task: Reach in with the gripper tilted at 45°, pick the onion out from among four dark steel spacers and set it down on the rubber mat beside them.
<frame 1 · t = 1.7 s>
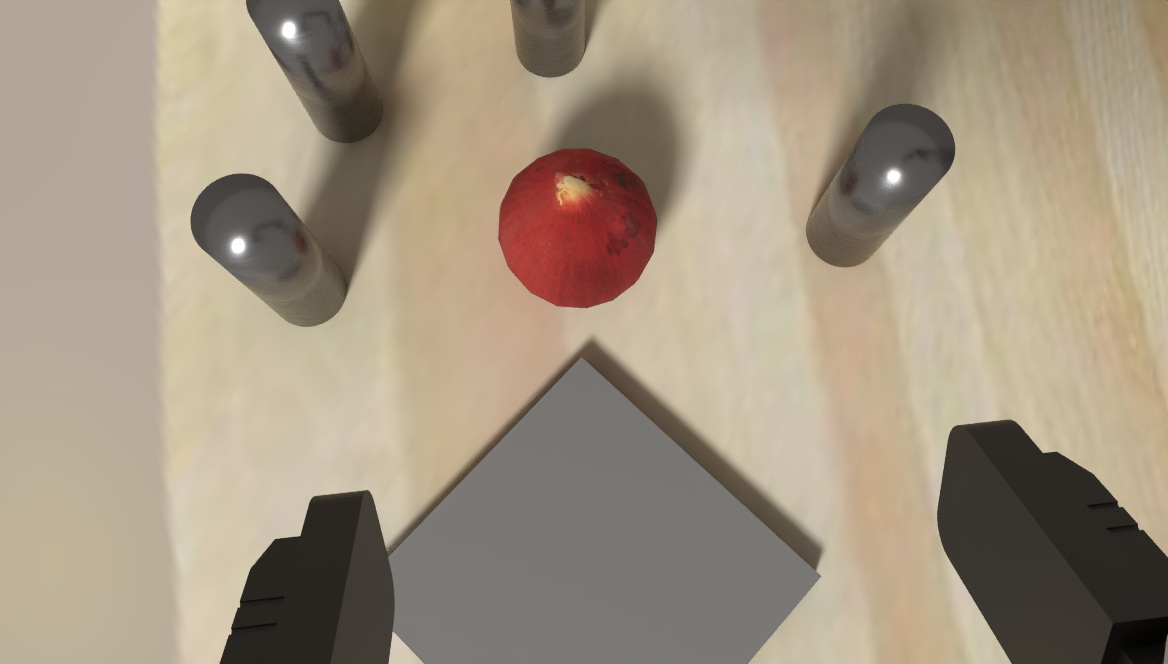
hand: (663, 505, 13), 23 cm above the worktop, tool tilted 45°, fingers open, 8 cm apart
mat: (588, 583, 34), on the worktop
onion: (578, 263, 38), on the worktop
spacer field: (578, 261, 37), on the worktop
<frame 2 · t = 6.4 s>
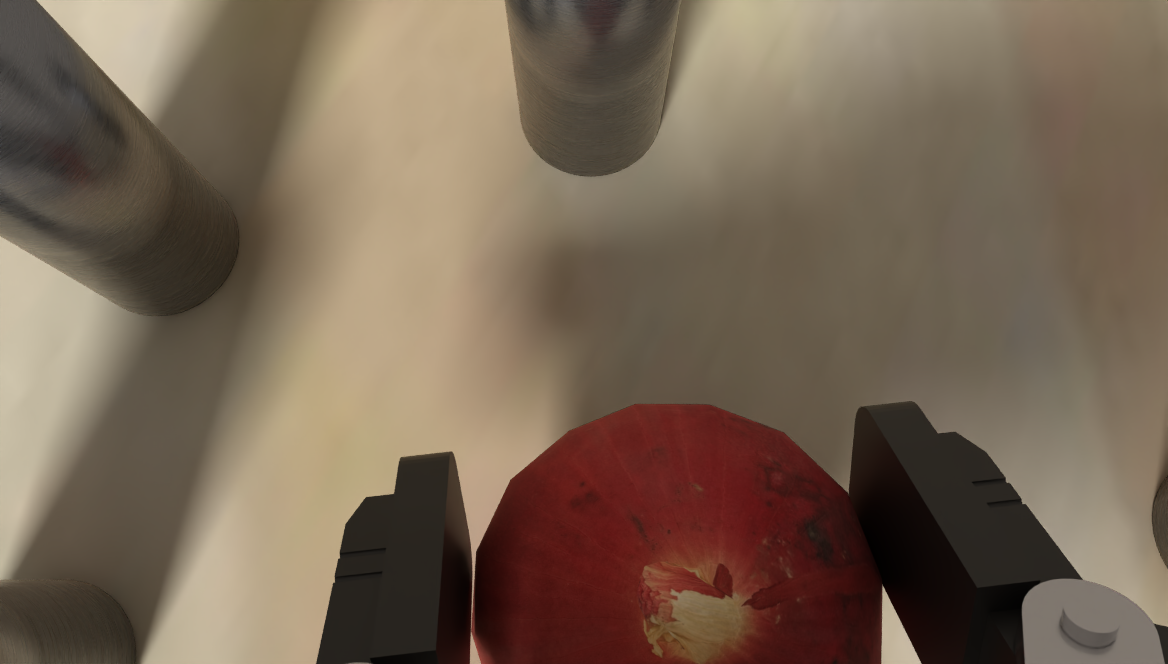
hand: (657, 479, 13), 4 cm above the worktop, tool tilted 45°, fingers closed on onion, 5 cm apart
onion: (653, 596, 17), on the worktop, touching gripper
spacer field: (654, 597, 17), on the worktop
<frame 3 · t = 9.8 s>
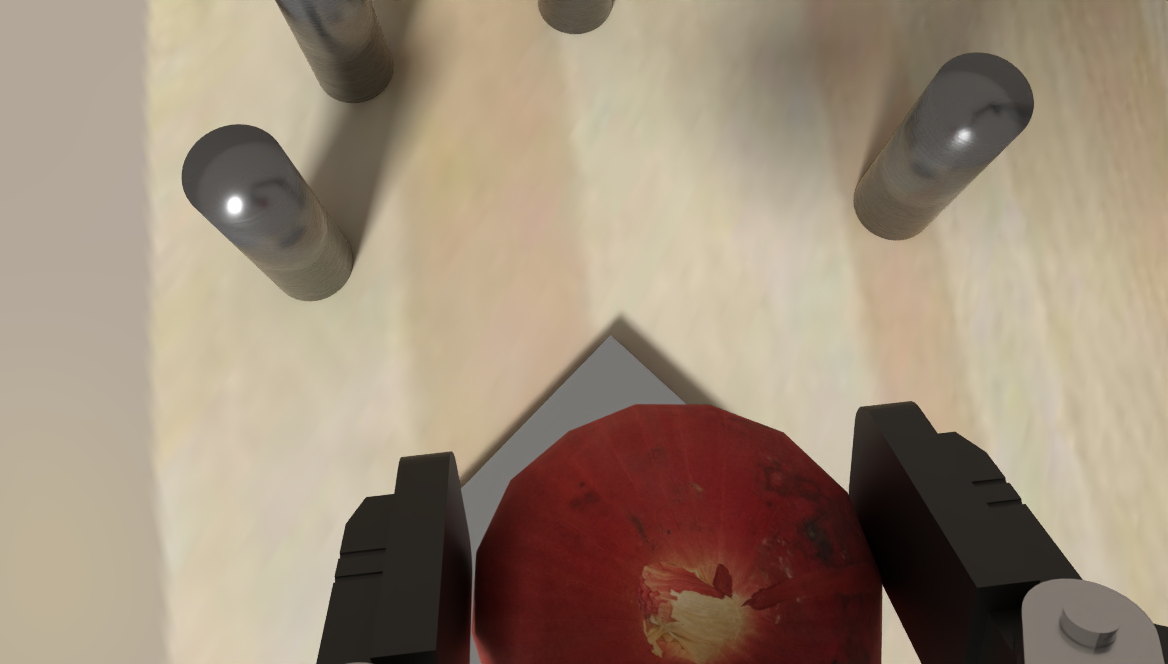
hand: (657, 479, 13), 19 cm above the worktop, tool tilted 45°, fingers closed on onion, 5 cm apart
mat: (617, 583, 31), on the worktop
onion: (653, 596, 17), point 15 cm above the worktop, touching gripper
spacer field: (605, 232, 34), on the worktop
when the fingers open (7 cm above the worktop, at t = 13.2 s): onion drops 1 cm, resting on mat.
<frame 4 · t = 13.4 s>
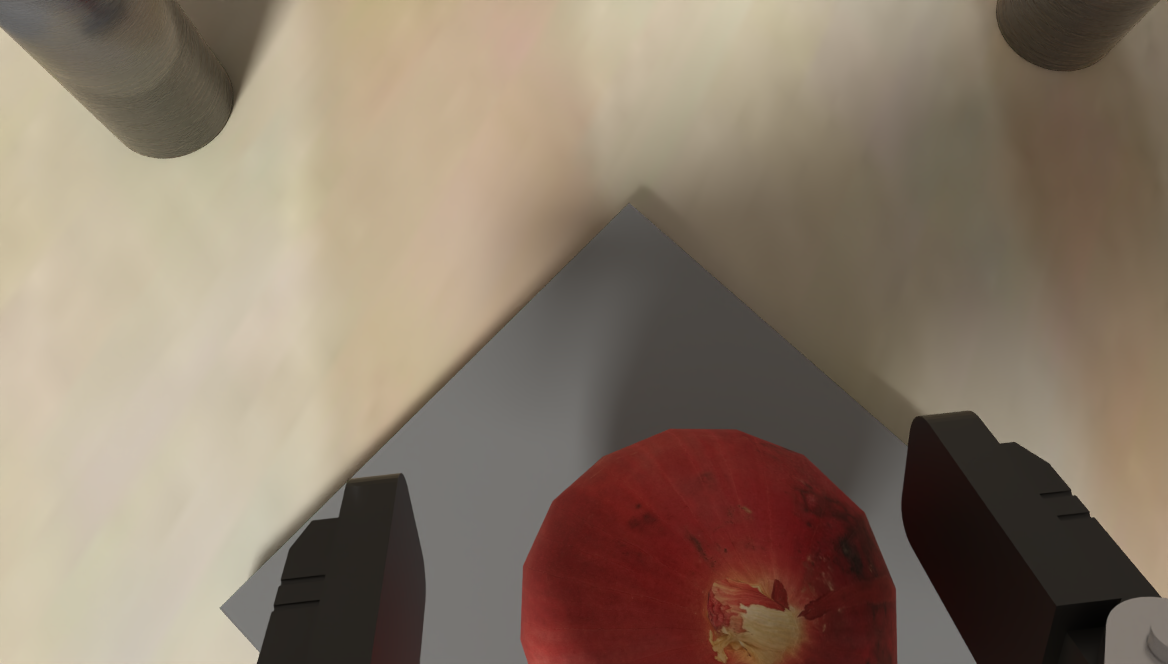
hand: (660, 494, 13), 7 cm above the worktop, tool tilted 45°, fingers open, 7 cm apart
mat: (642, 596, 19), on the worktop
onion: (664, 603, 18), point 1 cm above the worktop, touching mat
spacer field: (620, 59, 23), on the worktop
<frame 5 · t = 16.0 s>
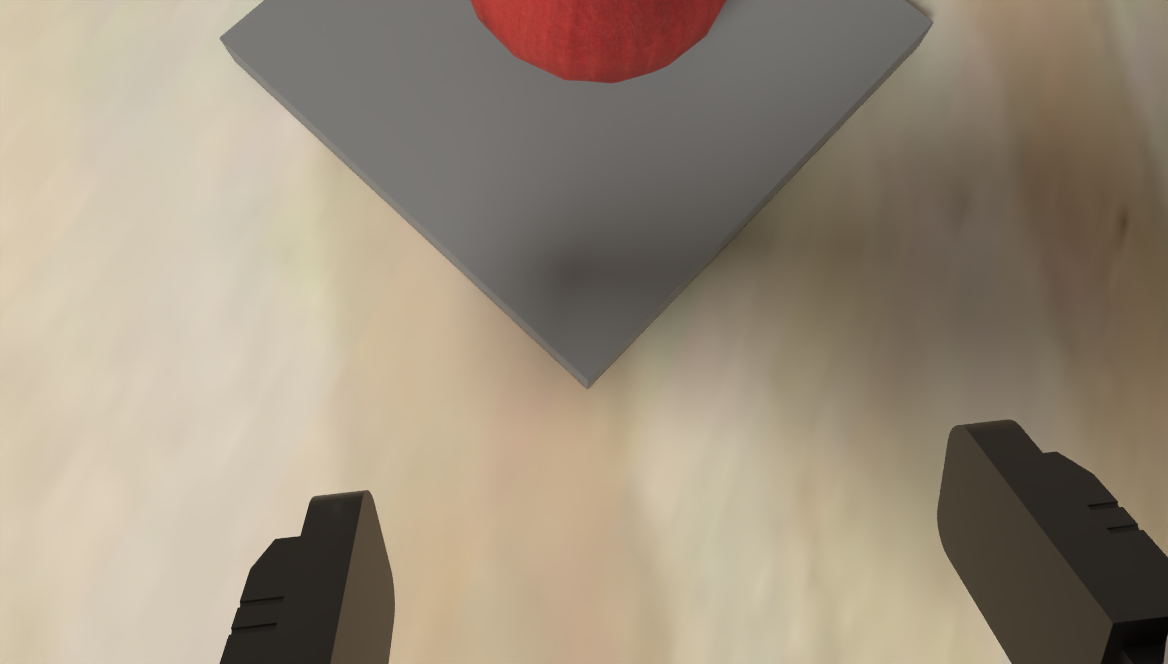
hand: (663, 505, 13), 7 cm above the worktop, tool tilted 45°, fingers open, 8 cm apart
mat: (577, 53, 23), on the worktop
onion: (595, 38, 22), point 1 cm above the worktop, touching mat
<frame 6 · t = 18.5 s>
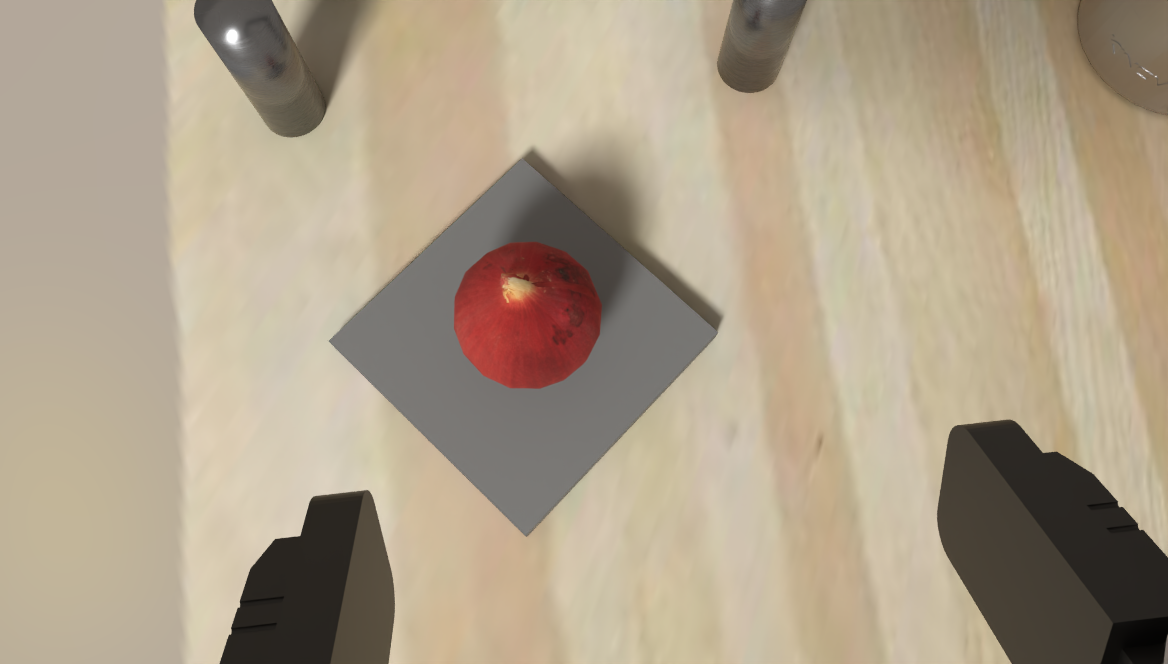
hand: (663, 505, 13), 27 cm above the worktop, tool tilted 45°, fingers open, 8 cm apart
mat: (525, 342, 41), on the worktop
onion: (533, 340, 40), point 1 cm above the worktop, touching mat
spacer field: (522, 86, 44), on the worktop
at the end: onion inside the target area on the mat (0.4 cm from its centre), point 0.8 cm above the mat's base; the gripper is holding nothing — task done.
